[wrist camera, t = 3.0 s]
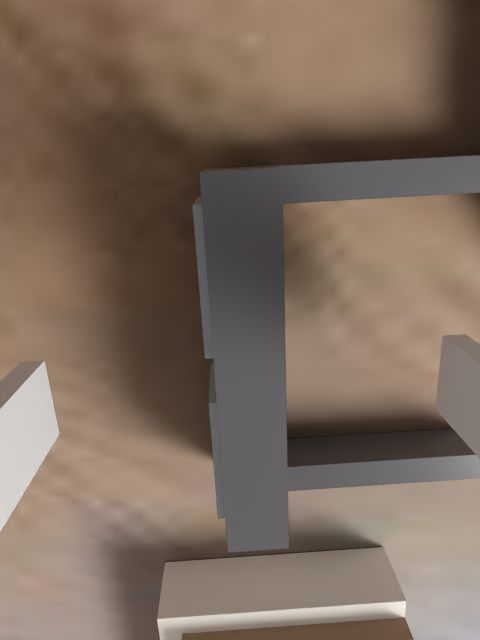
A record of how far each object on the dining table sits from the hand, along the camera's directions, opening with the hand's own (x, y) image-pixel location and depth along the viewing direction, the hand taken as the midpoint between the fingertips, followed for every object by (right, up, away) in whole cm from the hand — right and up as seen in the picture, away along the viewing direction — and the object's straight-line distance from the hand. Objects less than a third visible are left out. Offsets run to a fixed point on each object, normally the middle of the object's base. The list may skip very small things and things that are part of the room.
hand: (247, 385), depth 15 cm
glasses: (+4, +2, +4) cm, 6 cm away
